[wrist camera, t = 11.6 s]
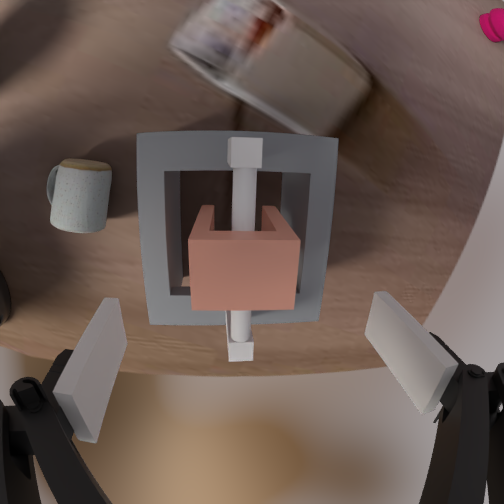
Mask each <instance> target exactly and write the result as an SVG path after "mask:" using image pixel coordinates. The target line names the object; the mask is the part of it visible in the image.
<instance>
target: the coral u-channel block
mask: <svg viewBox="0 0 504 504" xmlns="http://www.w3.org/2000/svg"><path fill="white" fill-rule="evenodd" d="M300 242H301V240H300V239H299V238H298V236H297V235H296V234H295V232H294V231H293V230H292V228H291V227H290V226H289V224H288V223H287V222H286V220H285V219H284V218H283V216H282V215H281V214H280V212H279V211H278V210H277V208H276V207H275V206H262V224H261V231H214V205H202V206H201V209H200V211H199V213H198V216H197V218H196V221H195V223H194V226H193V229H192V231H191V234H190V236H189V239H188V250H189V273H190V291H191V307H192V310H204V311H246V310H294V304H295V294H296V285H297V275H298V264H299V253H300Z"/></svg>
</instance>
